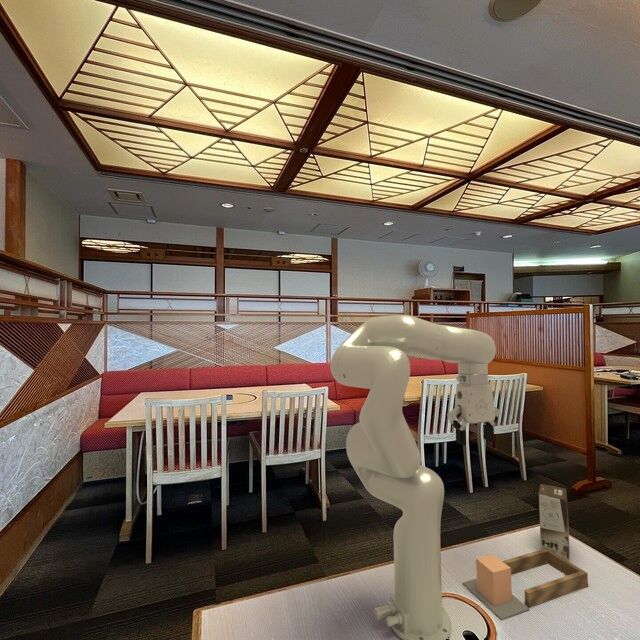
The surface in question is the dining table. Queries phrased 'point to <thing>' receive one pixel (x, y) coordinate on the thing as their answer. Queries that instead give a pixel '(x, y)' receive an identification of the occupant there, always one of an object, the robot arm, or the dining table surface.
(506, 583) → the block
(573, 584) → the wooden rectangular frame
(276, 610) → the dining table surface
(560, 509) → the coffee box
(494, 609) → the mat
